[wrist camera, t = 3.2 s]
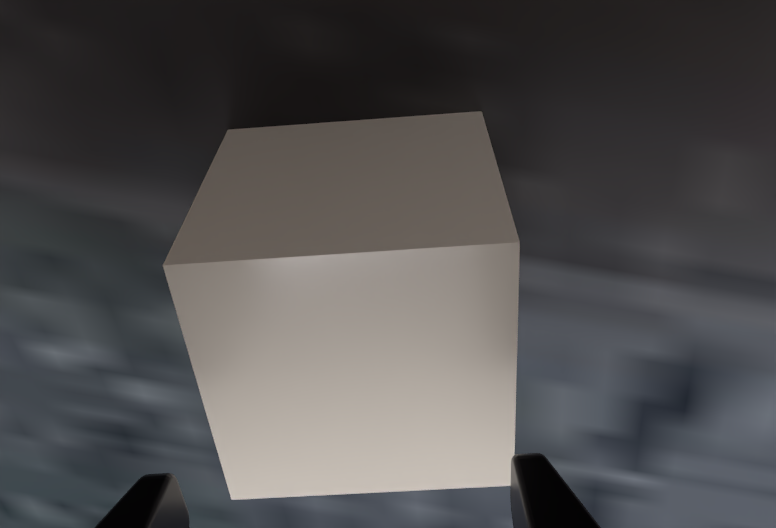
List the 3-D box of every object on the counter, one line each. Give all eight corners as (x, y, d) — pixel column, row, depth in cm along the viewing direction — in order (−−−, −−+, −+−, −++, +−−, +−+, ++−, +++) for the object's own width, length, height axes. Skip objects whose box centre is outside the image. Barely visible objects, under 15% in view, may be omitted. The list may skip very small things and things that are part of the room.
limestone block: (481, 109, 14) (519, 242, 10) (482, 313, 17) (513, 485, 13) (228, 127, 14) (162, 265, 10) (270, 326, 17) (231, 499, 13)
